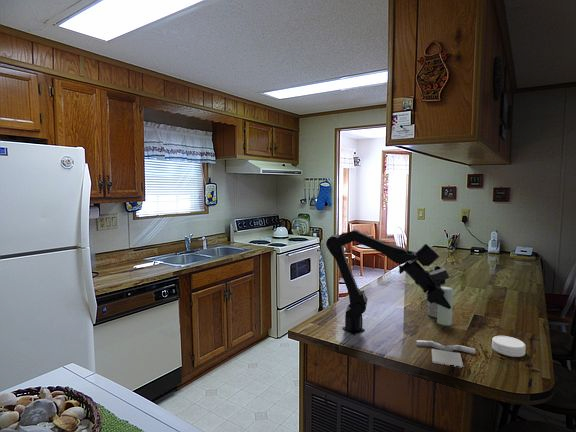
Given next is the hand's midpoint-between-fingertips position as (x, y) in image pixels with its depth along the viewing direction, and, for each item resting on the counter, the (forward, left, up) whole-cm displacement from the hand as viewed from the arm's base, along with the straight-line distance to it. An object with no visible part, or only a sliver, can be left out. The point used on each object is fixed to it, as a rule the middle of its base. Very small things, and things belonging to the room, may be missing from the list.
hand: (449, 305), depth 129 cm
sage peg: (-1, +1, -7) cm, 7 cm away
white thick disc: (+11, -16, -14) cm, 24 cm away
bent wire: (-7, -3, -13) cm, 16 cm away
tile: (-13, -8, -13) cm, 20 cm away
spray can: (+19, +18, -13) cm, 29 cm away
